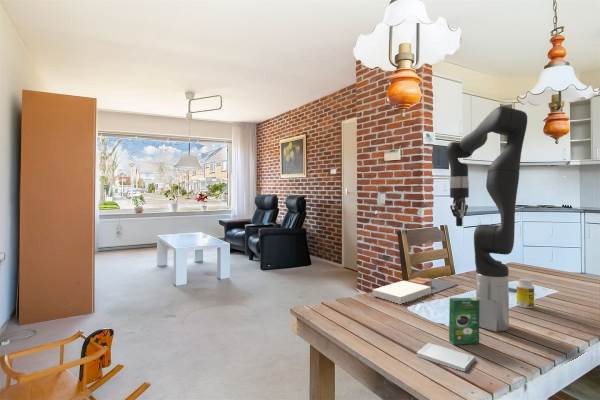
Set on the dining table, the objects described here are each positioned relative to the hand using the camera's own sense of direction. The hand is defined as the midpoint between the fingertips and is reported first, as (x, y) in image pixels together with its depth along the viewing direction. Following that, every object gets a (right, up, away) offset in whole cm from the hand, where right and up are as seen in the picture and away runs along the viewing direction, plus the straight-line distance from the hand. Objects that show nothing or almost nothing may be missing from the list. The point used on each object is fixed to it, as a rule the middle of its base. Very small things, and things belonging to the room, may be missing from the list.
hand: (459, 226), depth 148 cm
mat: (-9, -29, +10) cm, 32 cm away
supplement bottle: (+15, -29, -21) cm, 39 cm away
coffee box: (-23, -31, -50) cm, 63 cm away
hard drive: (-32, -32, -59) cm, 74 cm away
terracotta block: (-15, -29, +7) cm, 33 cm away
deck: (-27, -30, -4) cm, 40 cm away
